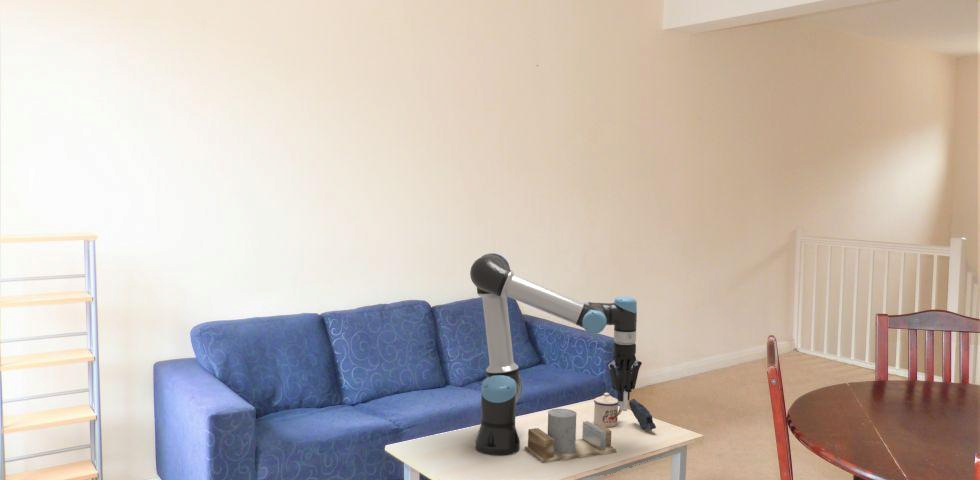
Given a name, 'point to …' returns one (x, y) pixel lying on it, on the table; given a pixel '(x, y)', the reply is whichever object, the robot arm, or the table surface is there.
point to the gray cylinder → (562, 430)
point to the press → (544, 447)
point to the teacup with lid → (606, 410)
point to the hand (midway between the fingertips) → (623, 409)
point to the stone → (642, 415)
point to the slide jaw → (596, 435)
